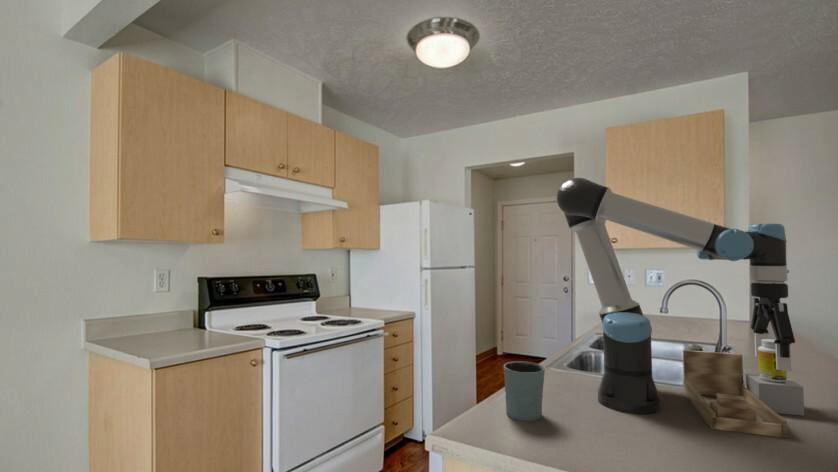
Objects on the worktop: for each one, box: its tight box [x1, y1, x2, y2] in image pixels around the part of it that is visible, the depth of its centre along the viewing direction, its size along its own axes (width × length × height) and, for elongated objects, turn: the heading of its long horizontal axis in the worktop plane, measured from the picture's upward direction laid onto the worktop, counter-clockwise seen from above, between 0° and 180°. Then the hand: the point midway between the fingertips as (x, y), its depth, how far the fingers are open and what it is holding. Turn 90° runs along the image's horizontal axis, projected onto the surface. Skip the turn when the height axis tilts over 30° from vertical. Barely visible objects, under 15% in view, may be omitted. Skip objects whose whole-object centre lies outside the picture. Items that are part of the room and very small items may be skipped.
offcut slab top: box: [709, 401, 758, 421], centre depth 98 cm, size 8×4×2 cm, turn 74°
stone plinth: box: [745, 373, 805, 416], centre depth 109 cm, size 9×9×7 cm
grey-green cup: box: [503, 361, 546, 422], centre depth 105 cm, size 10×10×12 cm
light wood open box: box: [682, 349, 788, 439], centre depth 107 cm, size 14×28×12 cm, turn 159°
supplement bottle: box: [757, 338, 787, 382], centre depth 110 cm, size 6×6×10 cm
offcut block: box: [716, 394, 746, 409], centre depth 98 cm, size 5×3×2 cm, turn 64°
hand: (772, 363), depth 110 cm, fingers open, 13 cm apart
